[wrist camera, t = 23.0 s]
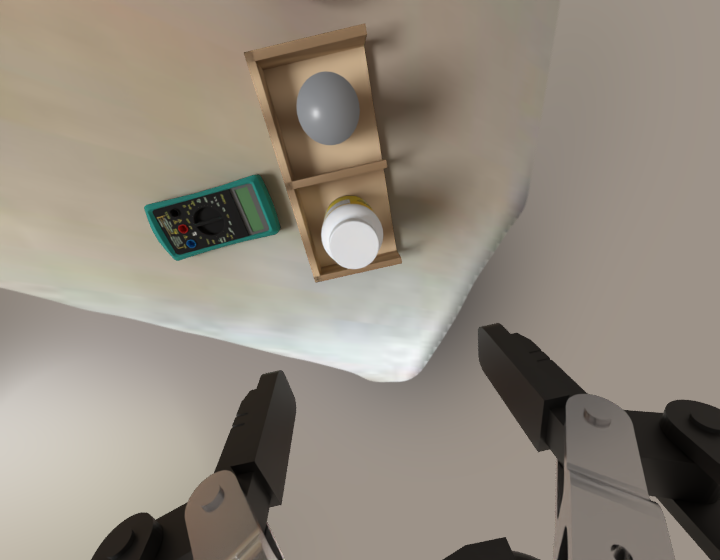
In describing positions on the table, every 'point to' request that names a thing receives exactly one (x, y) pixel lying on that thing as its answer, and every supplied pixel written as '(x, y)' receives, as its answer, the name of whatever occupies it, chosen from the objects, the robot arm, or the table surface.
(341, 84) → the grey cylinder
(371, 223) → the pill bottle
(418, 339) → the table surface
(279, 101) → the divided wooden tray
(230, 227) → the digital multimeter
